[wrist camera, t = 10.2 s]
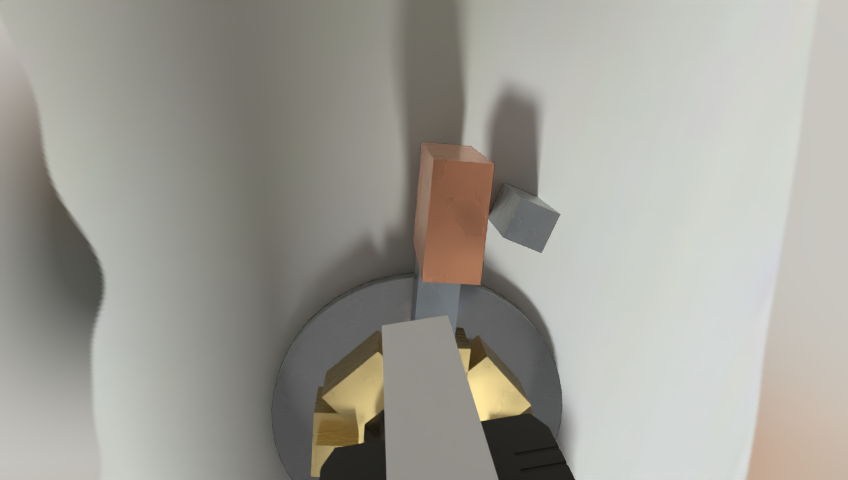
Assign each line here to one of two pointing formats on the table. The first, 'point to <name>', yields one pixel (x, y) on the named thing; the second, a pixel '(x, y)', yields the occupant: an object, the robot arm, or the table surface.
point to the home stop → (523, 218)
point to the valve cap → (364, 315)
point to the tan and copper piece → (427, 303)
